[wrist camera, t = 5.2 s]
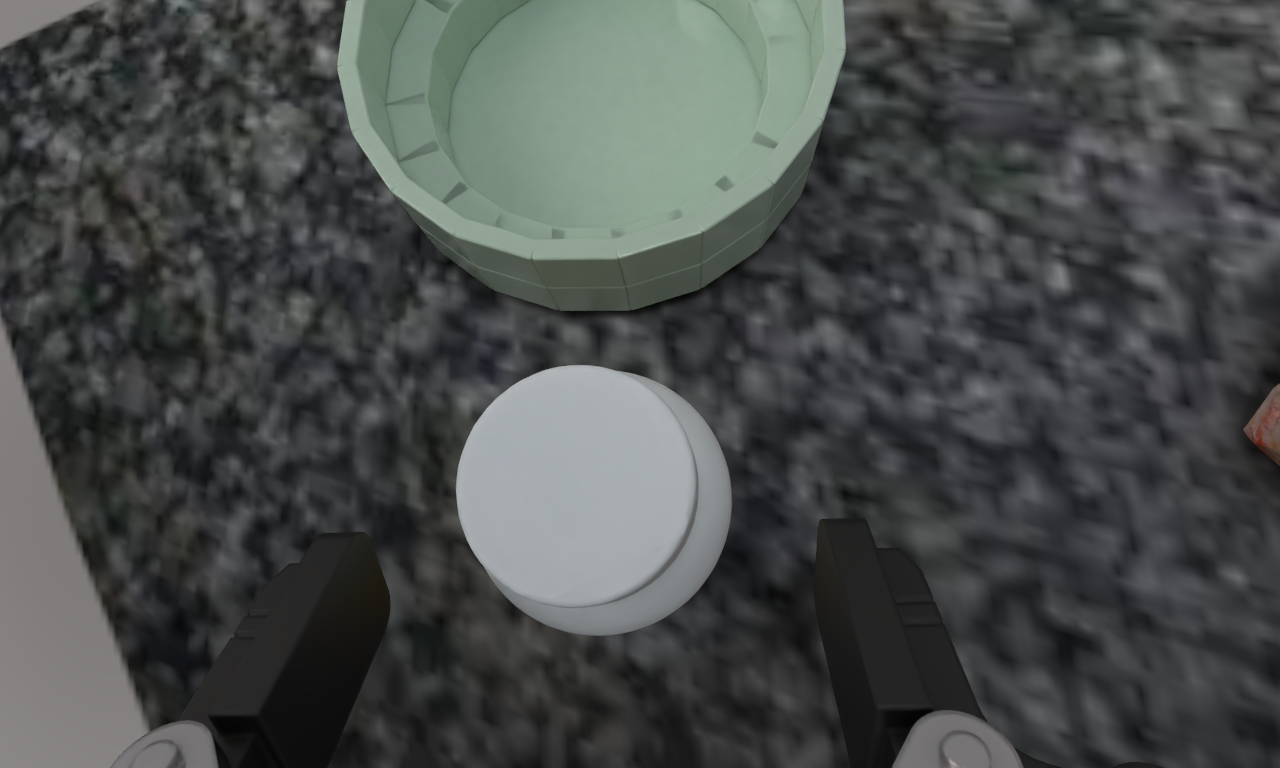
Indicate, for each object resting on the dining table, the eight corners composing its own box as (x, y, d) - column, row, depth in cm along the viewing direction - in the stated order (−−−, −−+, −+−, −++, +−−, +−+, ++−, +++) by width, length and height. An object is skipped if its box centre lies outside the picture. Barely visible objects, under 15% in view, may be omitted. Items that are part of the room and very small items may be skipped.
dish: (452, 373, 22) (393, 328, 18) (367, 16, 26) (300, -94, 21) (881, 240, 22) (927, 163, 18) (736, -97, 26) (746, -231, 21)
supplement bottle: (759, 516, 20) (814, 481, 11) (629, 654, 20) (572, 738, 10) (628, 391, 22) (580, 265, 12) (502, 518, 21) (349, 485, 12)
